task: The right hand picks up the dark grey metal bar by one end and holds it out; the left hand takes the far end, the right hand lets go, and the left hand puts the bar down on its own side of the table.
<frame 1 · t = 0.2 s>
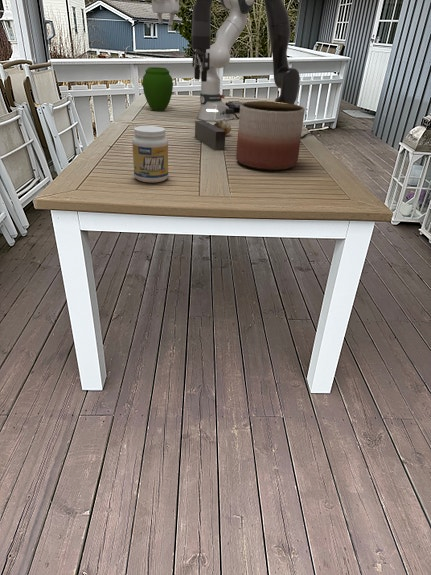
left hand: (165, 24, 208), 48 cm above the table, tool pointing down, fingers open, 8 cm apart
right hand: (200, 80, 171), 28 cm above the table, tool pointing down, fingers open, 8 cm apart
seashell: (221, 135, 212), on the table
vase: (158, 110, 268), on the table
planter: (266, 163, 170), on the table
sign: (238, 109, 287), on the table
supplement tub: (151, 178, 146), on the table
bar: (209, 143, 196), on the table
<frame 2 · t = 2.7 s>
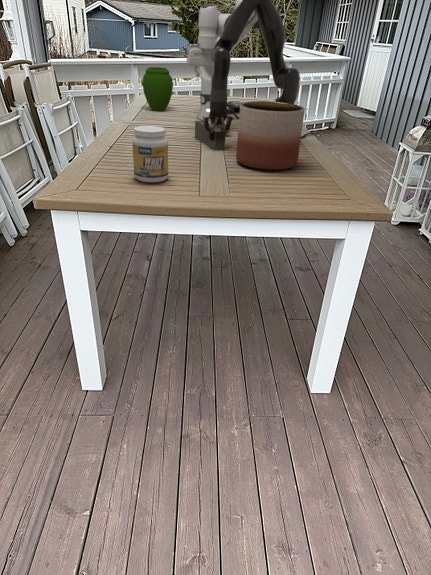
left hand: (206, 76, 204), 26 cm above the table, tool pointing down, fingers open, 8 cm apart
right hand: (216, 140, 188), 3 cm above the table, tool pointing down, fingers closed on bar, 4 cm apart
bar: (209, 143, 196), on the table, touching right hand
everything else where it was.
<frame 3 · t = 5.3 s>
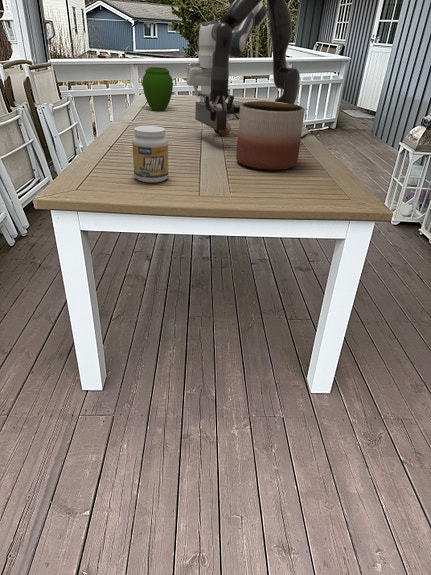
left hand: (207, 96, 195), 19 cm above the table, tool pointing down, fingers open, 8 cm apart
right hand: (218, 120, 183), 12 cm above the table, tool pointing down, fingers closed on bar, 4 cm apart
bar: (209, 124, 192), point 9 cm above the table, touching right hand
everything else where it was.
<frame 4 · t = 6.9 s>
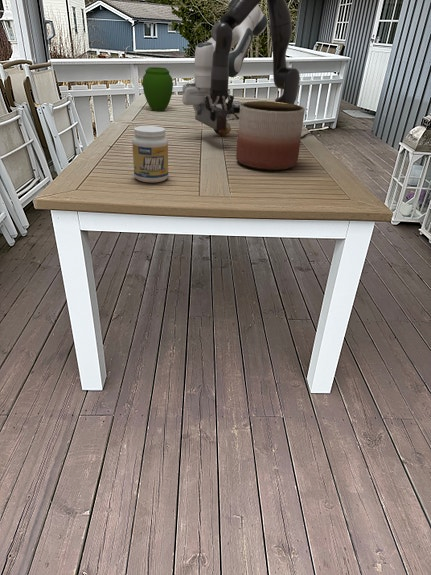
left hand: (202, 114, 197), 11 cm above the table, tool pointing down, fingers closed on bar, 5 cm apart
right hand: (218, 120, 183), 12 cm above the table, tool pointing down, fingers closed on bar, 4 cm apart
bar: (209, 124, 192), point 9 cm above the table, touching left hand, right hand
everything else where it was.
when the right hand's fingers open (12 cm above the table, at t = 7.9 s): bar stays where it is, held by the left hand.
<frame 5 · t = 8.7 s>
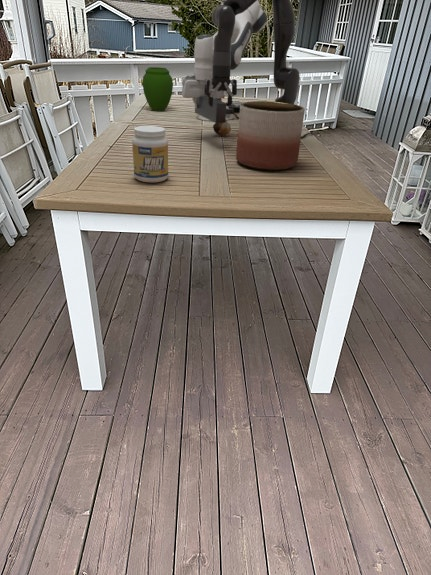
left hand: (202, 107, 196), 14 cm above the table, tool pointing down, fingers closed on bar, 5 cm apart
right hand: (220, 106, 178), 18 cm above the table, tool pointing down, fingers open, 8 cm apart
bar: (209, 117, 190), point 12 cm above the table, touching left hand
everything else where it was.
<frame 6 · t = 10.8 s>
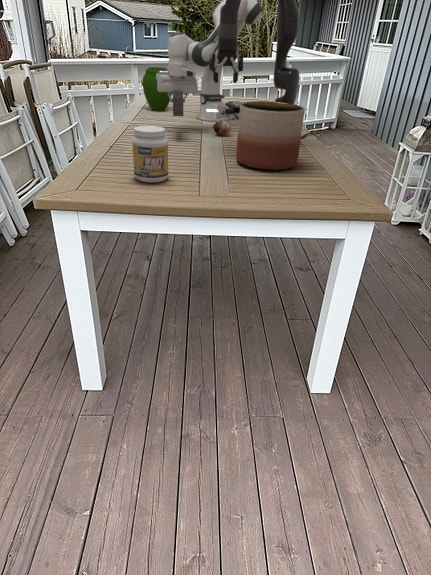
left hand: (177, 102, 206), 14 cm above the table, tool pointing down, fingers closed on bar, 5 cm apart
right hand: (225, 82, 170), 28 cm above the table, tool pointing down, fingers open, 8 cm apart
bar: (177, 111, 200), point 12 cm above the table, touching left hand
everything else where it was.
when the left hand's fingers open (5 cm above the table, at t = 15.0 s): bar drops 1 cm, on the table.
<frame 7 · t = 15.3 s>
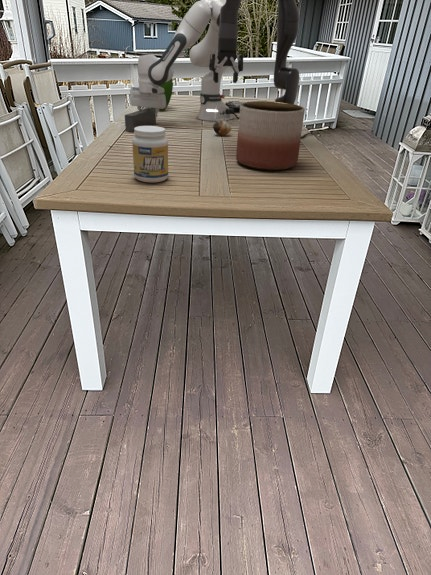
left hand: (148, 116, 224), 5 cm above the table, tool pointing down, fingers open, 7 cm apart
right hand: (225, 82, 170), 28 cm above the table, tool pointing down, fingers open, 8 cm apart
bar: (141, 127, 220), on the table
everything else where it was.
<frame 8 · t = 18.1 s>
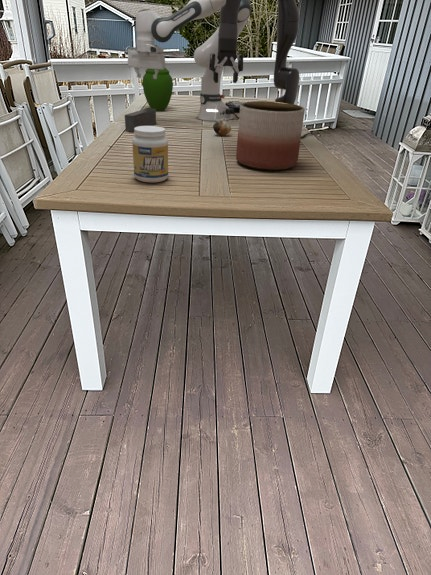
left hand: (146, 78, 214), 23 cm above the table, tool pointing down, fingers open, 8 cm apart
right hand: (225, 82, 170), 28 cm above the table, tool pointing down, fingers open, 8 cm apart
nothing on the table moved.
at the end: bar inside the target area (8.5 cm from its centre), on the table; the left hand is holding nothing; the right hand is holding nothing; bar at rest at the end (0.0 cm/s) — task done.
